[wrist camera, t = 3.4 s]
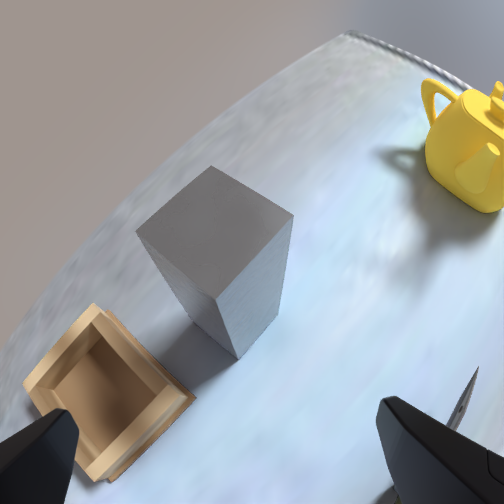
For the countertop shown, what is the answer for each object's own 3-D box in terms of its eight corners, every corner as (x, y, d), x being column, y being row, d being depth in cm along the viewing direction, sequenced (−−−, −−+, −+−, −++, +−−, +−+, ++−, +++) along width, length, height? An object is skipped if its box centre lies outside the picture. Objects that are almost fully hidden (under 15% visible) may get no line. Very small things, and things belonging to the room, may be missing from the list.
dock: (114, 480, 16) (94, 487, 13) (41, 388, 19) (18, 382, 16) (196, 397, 19) (186, 395, 17) (111, 311, 22) (93, 297, 20)
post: (238, 360, 21) (215, 299, 10) (193, 321, 22) (135, 231, 12) (278, 314, 22) (293, 215, 12) (232, 279, 24) (211, 165, 13)
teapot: (425, 103, 37) (445, 44, 27) (508, 159, 32) (539, 106, 22) (369, 177, 29) (400, 87, 19) (490, 262, 24) (554, 196, 14)
